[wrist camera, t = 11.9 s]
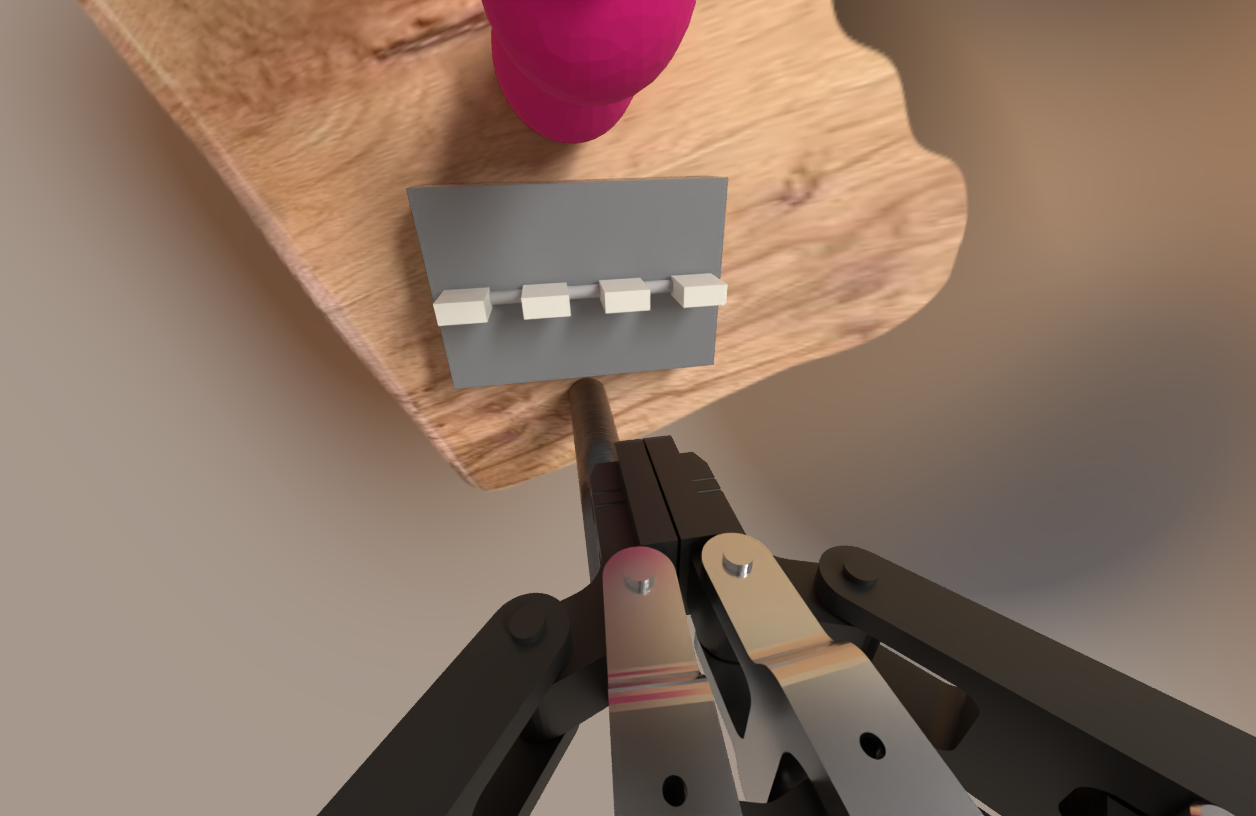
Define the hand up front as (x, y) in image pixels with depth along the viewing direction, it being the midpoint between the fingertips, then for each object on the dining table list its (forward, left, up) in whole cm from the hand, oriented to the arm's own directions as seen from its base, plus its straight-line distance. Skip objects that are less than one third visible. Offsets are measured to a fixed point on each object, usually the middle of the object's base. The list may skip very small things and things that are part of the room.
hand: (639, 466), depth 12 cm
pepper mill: (-10, -5, -23) cm, 26 cm away
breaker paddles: (0, 0, -19) cm, 19 cm away
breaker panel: (0, 0, -23) cm, 23 cm away
